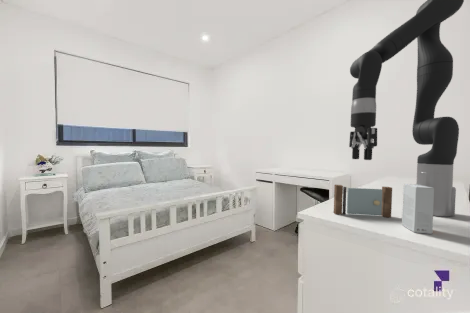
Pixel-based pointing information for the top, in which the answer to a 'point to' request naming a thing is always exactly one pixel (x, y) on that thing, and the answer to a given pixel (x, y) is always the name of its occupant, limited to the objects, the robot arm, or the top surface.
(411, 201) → the skincare box
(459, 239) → the top surface
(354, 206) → the door
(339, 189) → the door frame
